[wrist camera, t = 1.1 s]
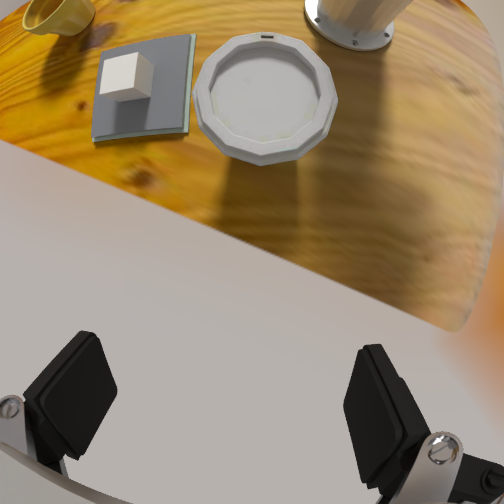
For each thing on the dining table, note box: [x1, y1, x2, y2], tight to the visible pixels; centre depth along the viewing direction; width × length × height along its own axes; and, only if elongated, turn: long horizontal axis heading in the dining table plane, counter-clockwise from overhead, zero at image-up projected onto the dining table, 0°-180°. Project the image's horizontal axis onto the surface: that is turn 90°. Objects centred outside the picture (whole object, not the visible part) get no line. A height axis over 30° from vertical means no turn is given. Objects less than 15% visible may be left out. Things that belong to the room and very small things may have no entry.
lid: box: [91, 34, 192, 138], centre depth 25 cm, size 13×13×6 cm
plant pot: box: [22, 0, 95, 36], centre depth 20 cm, size 10×10×10 cm
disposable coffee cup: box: [192, 32, 338, 166], centre depth 23 cm, size 11×11×15 cm
